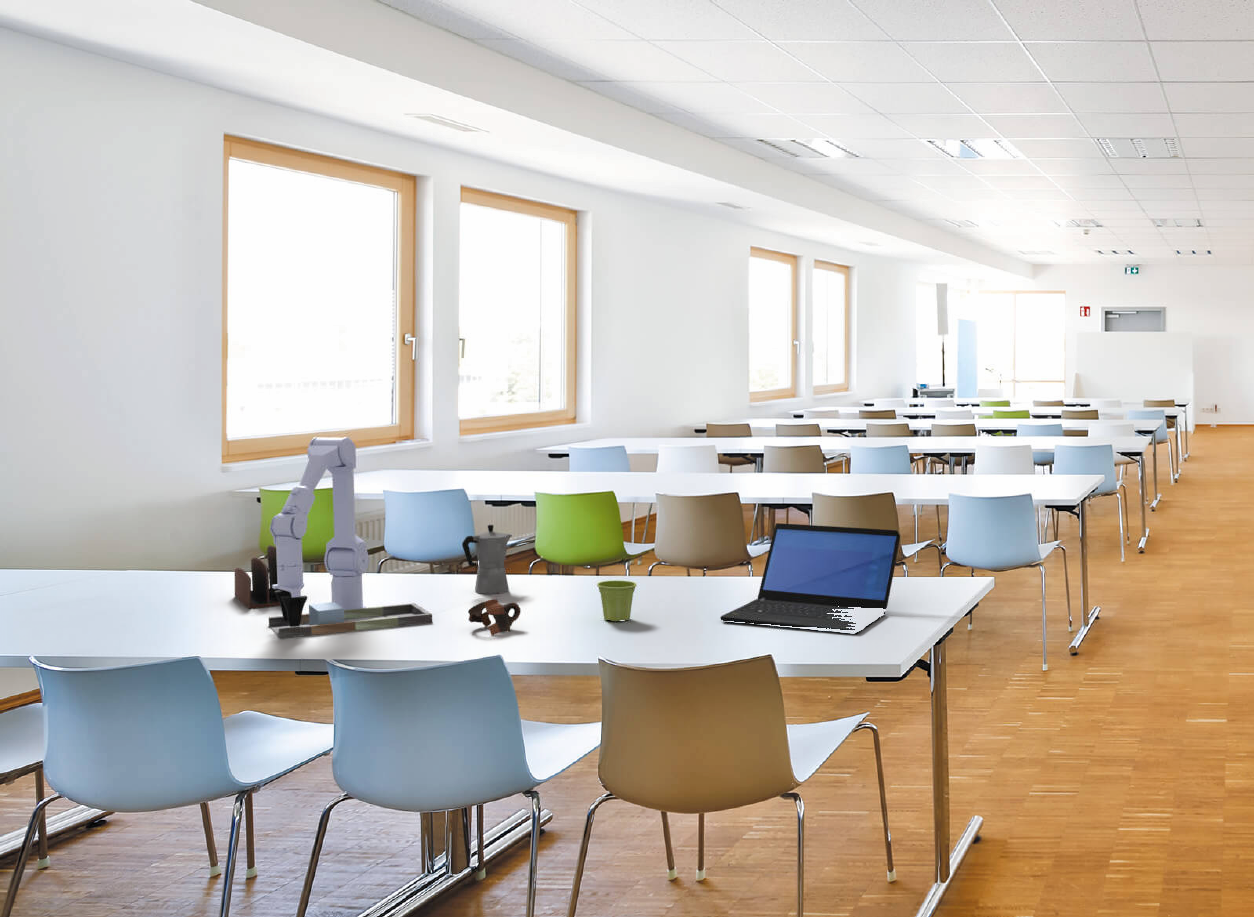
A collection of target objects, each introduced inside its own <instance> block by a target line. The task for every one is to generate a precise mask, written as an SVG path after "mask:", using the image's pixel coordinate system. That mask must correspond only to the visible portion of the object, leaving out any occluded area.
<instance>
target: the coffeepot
mask: <svg viewBox="0 0 1254 917" xmlns="http://www.w3.org/2000/svg"><path fill="white" fill-rule="evenodd" d="M487 530H488V531H485V532H482V533H478V534H476V535H466V537H465V538H464V540H463V541H462V548H463V552H464V555H465V557H466V560H467V564H468V566H469V567H476V566H477V564H479V565H478V568H477V573H476V580H475V587H474V588H475V589H474V590H475V592H476V593H477V594H482V595H496V594H503V593H507V592H508V591H510V588H509V584H508V578H507V572H506V568H505V560H506V556H507V548H508V542H509V541H510V538H512V537H513V535H512V534H509V533H503V532H497V531H494V524H489V525H487ZM470 543H472V544H474V546H475V547H474V548H475V552H476V557H477V561H478V563H477V562H473V557H472V554H471V549H470V546H469V544H470Z"/></svg>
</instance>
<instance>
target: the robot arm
mask: <svg viewBox="0 0 1254 917" xmlns="http://www.w3.org/2000/svg"><path fill="white" fill-rule="evenodd" d="M306 450H307V452H306V453H307V457H308V458H307V459H308V461H307V463H306V466H305V469H304V472H303V473H302V474H303V475H302V477H301V481H300V483H299V485H298V486H295V487H293V488H292V489H291V491H290V493H289V495H288V497H287V499H286V501H285V503H284V505H283V508H281V511H280V513H278V514H276V515H275V516H273V517H272V519H271V523H270V526H269V531H270V534H271V536H272V538H273V544H274V545H273V546H275V547H276V553H277V581H278V584H275V585H272V588H273V589H281V590H277V591H275V594H276V596H277V597H278V600H279V602H280V606H279V607H280V609H281V610H280V611H281V614H282V615H281V616H283V618H284V621H289V625H290V627H296V626H300V622H301V616H302V614H303V612H304V611H303V610H304V606H305V604H306V602H307V600H308V596H307V595H302V594H301V592H302V591H301V590H303V588H304V587H305V582H304V572H303V571H304V568H303V567H304V566H303V537H304V536H305V534H306V532H307V529H308V522H309V521H308V519H309V517H308V515H309V513H310V511H311V508H312V506H313V504H314V502H315V499H316V496H315V494H314V491H315V489H316V488H317V486H318V484H319V482H320V481H321V480H322V477H323V476H324V475H325V473H326V472H327V471H329V473H330V474H331V478H332V480H331V481H332V502H333V503H332V507H333V509H332V510H333V534H334V536H333V537H332V538H331V539H330V540H329V541H328V542H327V543H326V544H325V546H326V547H325V548H326V549H325V553H324V558H323V561H324V562H323V563H324V566H325V569H326V571H327V572H329V575H331V576H332V579H331V582H330V584H331V585H330V586H331V590H330V591H331V602H335V603H336V604H338V605H340V606H341V607H343V608H344V610H349V609H359V608H368V607H367V606H365V605H364V598H363V597H364V596H363V592H364V591H363V574H365V573H366V571H367V569H368V567H369V565H370V564H369V563H370V556H369V552H368V549H367V543H366V542H367V541H364V540H363V539H362V538H361V537H359V536H358V535H357V534H356V532H357V531H356V508H355V507H356V506H355V504H356V503H355V475H354V469H356V468H357V456H356V455H357V452H356V450H357V449H356V444H355V443H354V441H353V440H352V439H351V438H350V437H349V436H348V437H347V436H345V437H318V436H315V437H313V438H312V439H311V440H310V442H309V444H308V448H306Z"/></svg>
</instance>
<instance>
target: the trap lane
mask: <svg viewBox="0 0 1254 917" xmlns="http://www.w3.org/2000/svg"><path fill="white" fill-rule="evenodd" d="M379 616H384V617H381V618H372V619H371V617H379ZM369 617H370V619H363V620H361V619H360V620H353V621H352V620H351V621H344V622H340V623H330V624H320V625H302V624H308V623H309V612H308V613H302V616H301V622H300V626H296V627H290V625H289V621H284V618H283V615H280V616H269V617H268V627H269V628H270V629H271V630H272V631H273V632H274V633H275V634H276V636H277V637H278V638H279V639H287V638H289V639H290V638H297V637H307V636H317V635H325V634H334V633H335V634H336V633H346V632H355V631H363V630H365V631H366V630H373V629H384V628H385V629H386V628H393V627H402V626H411V625H421V624H430V623H433V613H431V612H429V611H428V610H426V609H425V608H423V607H421V606H420V605H419V604H416V603H415V602H413V603H412V602H411V603H403V604H402V603H401V604H392V605H382V606H381V605H380V606H372V607H367V608H359V609H349V610H344V620H350V619H359V618H369Z"/></svg>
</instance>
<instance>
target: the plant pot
mask: <svg viewBox="0 0 1254 917" xmlns="http://www.w3.org/2000/svg"><path fill="white" fill-rule="evenodd" d="M637 585H638V583H636V582H634V581H629V580H604V581H600V582H598V583H597V584H596V586H597V587H598V590H599V593H600V598H601V599H600V600H601V607H602V613H603V620H604V621H606V620H610V621H612V622H613V621H620V620H627V621H629V620H628V619H631V615H632V614H631V613H632V604H633V597H634V592H635V589H636V587H637Z"/></svg>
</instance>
